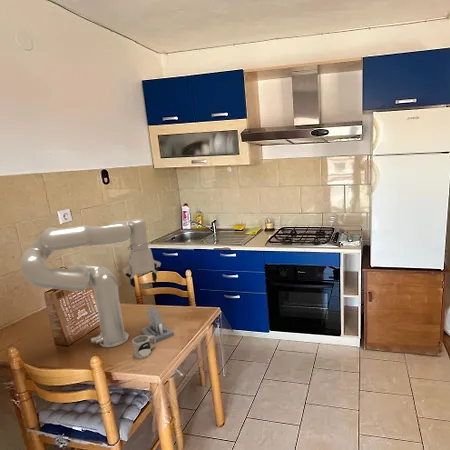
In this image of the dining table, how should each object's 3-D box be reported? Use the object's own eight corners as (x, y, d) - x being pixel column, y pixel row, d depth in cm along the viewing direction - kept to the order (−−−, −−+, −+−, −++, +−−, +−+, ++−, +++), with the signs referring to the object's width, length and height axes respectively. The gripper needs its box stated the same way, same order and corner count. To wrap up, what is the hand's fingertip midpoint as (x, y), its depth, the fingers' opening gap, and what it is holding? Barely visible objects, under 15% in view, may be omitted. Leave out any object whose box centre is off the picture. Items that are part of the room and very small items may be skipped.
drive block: (163, 332, 161) (160, 311, 159) (157, 335, 160) (154, 313, 158) (156, 326, 168) (153, 306, 166) (150, 328, 166) (147, 308, 164)
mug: (140, 360, 143) (138, 345, 142) (131, 355, 148) (129, 340, 147) (161, 349, 150) (159, 334, 149) (151, 344, 155) (149, 330, 154)
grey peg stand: (174, 335, 161) (172, 321, 160) (152, 343, 156) (150, 329, 154) (161, 324, 172) (159, 312, 171) (141, 332, 167) (139, 318, 166)
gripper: (122, 252, 154) (127, 290, 157) (161, 244, 162) (165, 281, 165) (117, 249, 160) (122, 286, 164) (155, 242, 169) (159, 277, 172)
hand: (144, 283), depth 164 cm, fingers open, 9 cm apart
